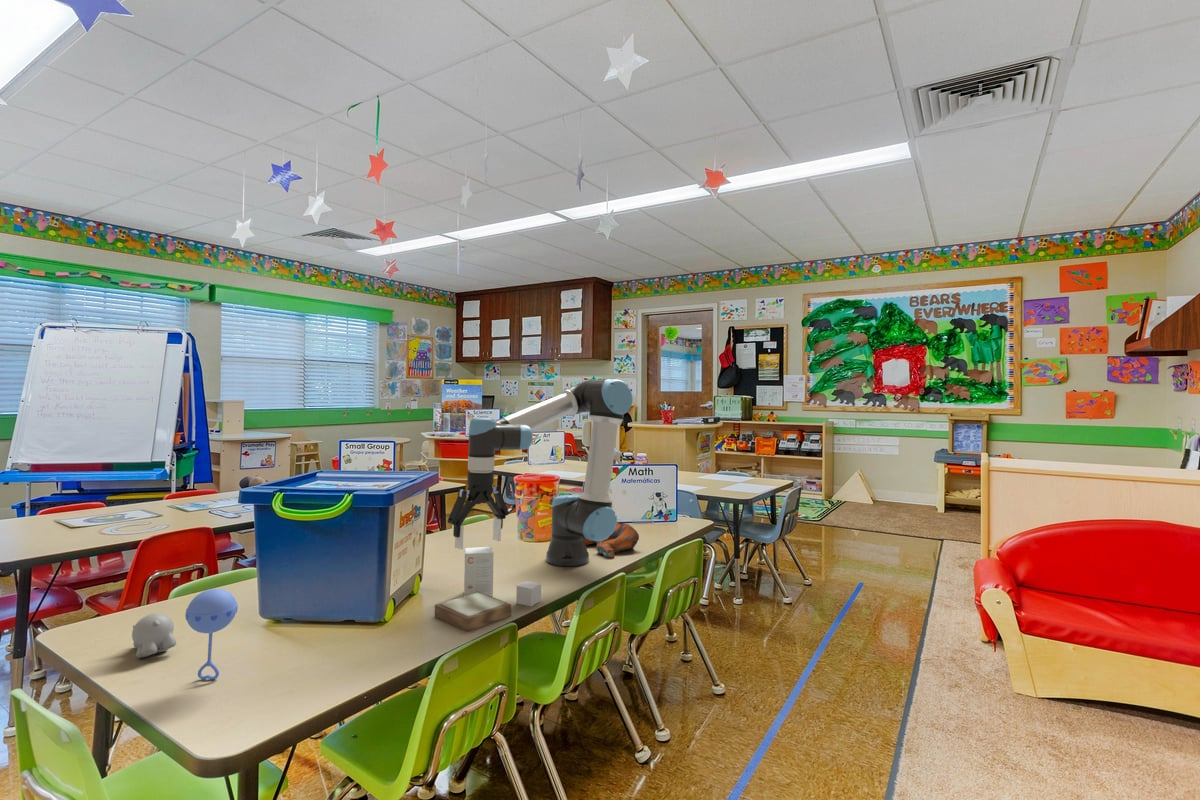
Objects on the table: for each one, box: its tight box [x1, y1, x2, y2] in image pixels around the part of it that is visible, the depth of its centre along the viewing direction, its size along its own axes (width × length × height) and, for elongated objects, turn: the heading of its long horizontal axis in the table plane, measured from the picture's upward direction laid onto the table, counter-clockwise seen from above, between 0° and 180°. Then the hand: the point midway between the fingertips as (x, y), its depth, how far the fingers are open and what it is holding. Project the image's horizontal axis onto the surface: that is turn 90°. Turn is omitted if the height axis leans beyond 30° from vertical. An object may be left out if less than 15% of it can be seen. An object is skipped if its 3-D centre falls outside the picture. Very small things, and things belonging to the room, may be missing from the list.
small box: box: [463, 546, 494, 597], centre depth 166 cm, size 8×6×13 cm
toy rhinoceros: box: [131, 612, 177, 659], centre depth 125 cm, size 7×12×8 cm, turn 55°
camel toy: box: [584, 521, 640, 559], centre depth 220 cm, size 25×13×17 cm
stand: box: [434, 592, 512, 632], centre depth 150 cm, size 14×14×3 cm
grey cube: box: [515, 580, 542, 607], centre depth 161 cm, size 5×5×5 cm
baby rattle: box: [184, 588, 239, 681], centre depth 114 cm, size 9×9×18 cm
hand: (478, 544), depth 166 cm, fingers open, 13 cm apart
